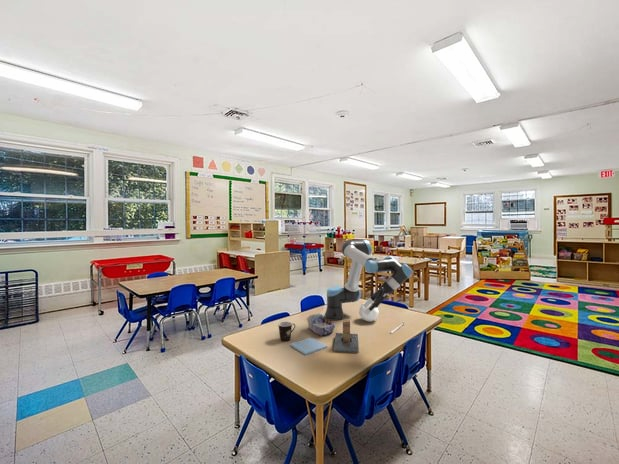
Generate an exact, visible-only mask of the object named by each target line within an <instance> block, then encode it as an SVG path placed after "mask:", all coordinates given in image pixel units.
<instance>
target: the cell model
mask: <svg viewBox="0 0 619 464" xmlns="http://www.w3.org/2000/svg"><path fill="white" fill-rule="evenodd" d="M307 325H308V329H310V330H312V332H314V333H315V334H316V335H319V336H320V337H322V336H326V335H327V336H328V335H329V334H331V333H333V332H334V330H335V327H336V323H333V322H332V320H329V319H326V318H325V316H323V314H321V313H315V314H310V315H308V317H307Z"/></svg>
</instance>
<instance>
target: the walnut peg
mask: <svg viewBox="0 0 619 464" xmlns="http://www.w3.org/2000/svg"><path fill="white" fill-rule="evenodd" d="M342 333H343V342H350V334H351V319H347V318H343V319H342Z"/></svg>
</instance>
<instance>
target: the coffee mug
mask: <svg viewBox="0 0 619 464" xmlns="http://www.w3.org/2000/svg"><path fill="white" fill-rule="evenodd" d="M277 326H278V331H279V340H280V341H281V342H289V341H291V336H292V332H293V331H294V330H295V328H296V324H295V323H292V322H291V321H280V322H279V323H278V325H277ZM293 326H294V327H293ZM292 327H293V329H292Z"/></svg>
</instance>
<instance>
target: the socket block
mask: <svg viewBox="0 0 619 464" xmlns="http://www.w3.org/2000/svg"><path fill="white" fill-rule="evenodd" d="M358 335H359V334H358V333H350V342H343V332H342V333H341V332H336V333H335V335H334V336H335V338H334V345H333V349H334V350H333V351H334V352H339V353H355V354H359V353H360V352H359V351H360V350H359V348H360V345H359V336H358Z"/></svg>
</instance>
